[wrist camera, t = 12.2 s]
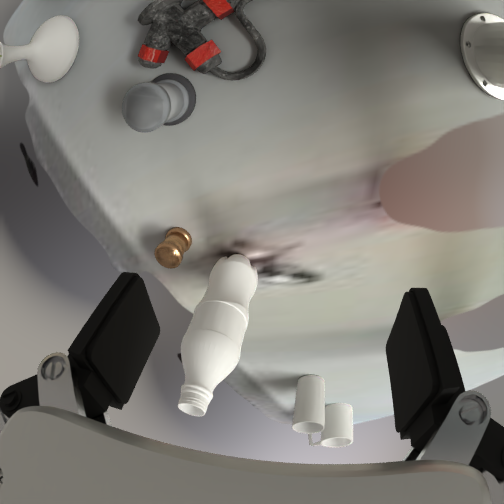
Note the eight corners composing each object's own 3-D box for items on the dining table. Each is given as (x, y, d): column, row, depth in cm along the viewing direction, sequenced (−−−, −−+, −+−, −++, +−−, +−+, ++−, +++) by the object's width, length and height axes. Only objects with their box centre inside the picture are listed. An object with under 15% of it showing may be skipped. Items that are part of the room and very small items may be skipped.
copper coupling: (189, 227, 45) (177, 244, 41) (193, 250, 48) (183, 269, 44) (165, 226, 46) (151, 243, 42) (170, 249, 48) (158, 267, 44)
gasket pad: (193, 69, 32) (192, 69, 32) (198, 122, 36) (197, 122, 36) (143, 78, 33) (142, 78, 33) (149, 127, 37) (148, 128, 37)
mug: (291, 378, 63) (286, 424, 54) (318, 370, 61) (316, 419, 51) (310, 396, 67) (307, 439, 57) (335, 390, 64) (335, 435, 55)
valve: (192, 112, 38) (128, 36, 30) (357, 19, 28) (293, -65, 20) (180, 125, 33) (107, 38, 25) (373, 17, 23) (298, -82, 15)
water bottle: (244, 291, 51) (206, 429, 30) (207, 269, 49) (150, 403, 29) (269, 265, 47) (238, 414, 26) (230, 240, 45) (172, 384, 25)
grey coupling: (188, 76, 32) (165, 79, 27) (191, 119, 36) (169, 130, 30) (147, 82, 33) (119, 87, 27) (151, 123, 36) (125, 134, 31)
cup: (304, 408, 71) (301, 441, 63) (348, 400, 67) (348, 435, 58) (314, 419, 75) (312, 450, 67) (355, 412, 70) (356, 444, 62)
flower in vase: (62, 93, 35) (-71, 147, 15) (29, 61, 32) (-93, 100, 11) (104, 25, 29) (-48, 35, 8) (65, -3, 25) (-69, 3, 5)
